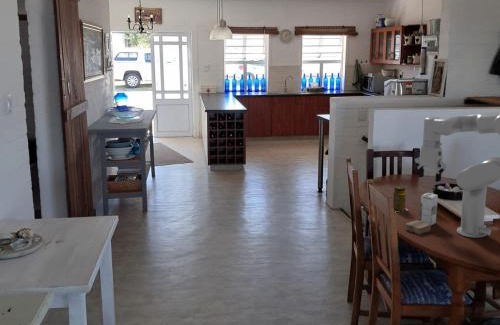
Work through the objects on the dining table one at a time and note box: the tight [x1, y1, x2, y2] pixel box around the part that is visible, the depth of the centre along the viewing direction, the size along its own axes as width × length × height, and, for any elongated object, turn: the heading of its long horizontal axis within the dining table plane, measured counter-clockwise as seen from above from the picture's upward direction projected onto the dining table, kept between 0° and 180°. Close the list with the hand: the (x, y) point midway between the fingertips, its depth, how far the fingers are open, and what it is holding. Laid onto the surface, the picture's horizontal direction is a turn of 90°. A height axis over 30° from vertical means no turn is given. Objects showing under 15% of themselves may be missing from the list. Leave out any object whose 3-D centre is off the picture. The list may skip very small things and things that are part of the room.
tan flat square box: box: [404, 219, 432, 236], centre depth 237 cm, size 8×8×3 cm
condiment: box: [392, 186, 409, 213], centre depth 266 cm, size 7×8×12 cm
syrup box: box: [419, 192, 439, 226], centre depth 244 cm, size 6×6×14 cm
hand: (429, 179), depth 241 cm, fingers open, 9 cm apart
